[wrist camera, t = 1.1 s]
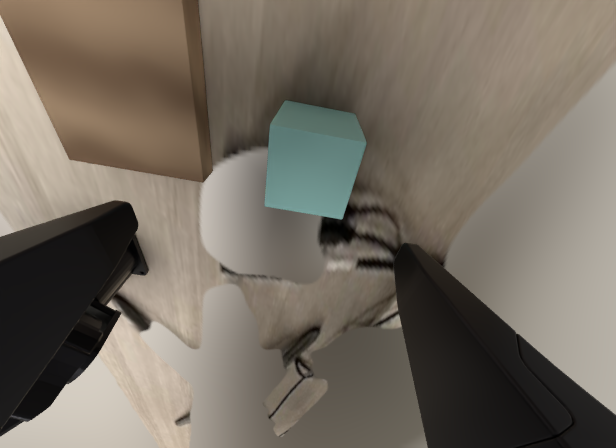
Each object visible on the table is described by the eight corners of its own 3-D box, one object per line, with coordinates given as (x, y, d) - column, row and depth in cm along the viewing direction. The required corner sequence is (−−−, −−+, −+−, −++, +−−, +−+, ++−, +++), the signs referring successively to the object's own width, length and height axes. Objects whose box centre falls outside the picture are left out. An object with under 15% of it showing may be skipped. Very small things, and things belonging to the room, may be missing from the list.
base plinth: (212, 171, 20) (203, 182, 19) (89, 149, 20) (69, 159, 18) (195, -31, 13) (177, -41, 11) (-3, -76, 12) (-51, -92, 11)
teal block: (337, 176, 20) (342, 219, 15) (278, 165, 20) (264, 206, 15) (355, 113, 17) (366, 142, 12) (285, 99, 17) (270, 124, 12)
